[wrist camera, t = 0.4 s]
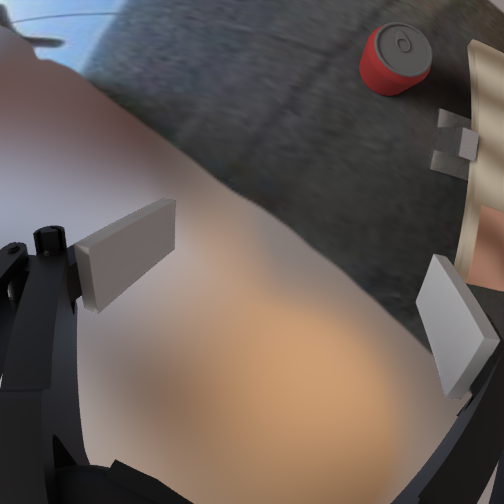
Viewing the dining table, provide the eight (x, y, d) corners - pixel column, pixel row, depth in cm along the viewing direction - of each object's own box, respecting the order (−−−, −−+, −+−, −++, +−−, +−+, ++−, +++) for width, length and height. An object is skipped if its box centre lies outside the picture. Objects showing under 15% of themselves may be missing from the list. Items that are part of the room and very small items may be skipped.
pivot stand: (436, 108, 30) (465, 103, 22) (532, 148, 27) (570, 157, 18) (427, 167, 33) (454, 179, 25) (522, 200, 30) (558, 220, 22)
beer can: (403, 48, 28) (428, 18, 18) (413, 95, 31) (444, 82, 20) (353, 49, 30) (361, 17, 20) (363, 97, 33) (377, 83, 22)
